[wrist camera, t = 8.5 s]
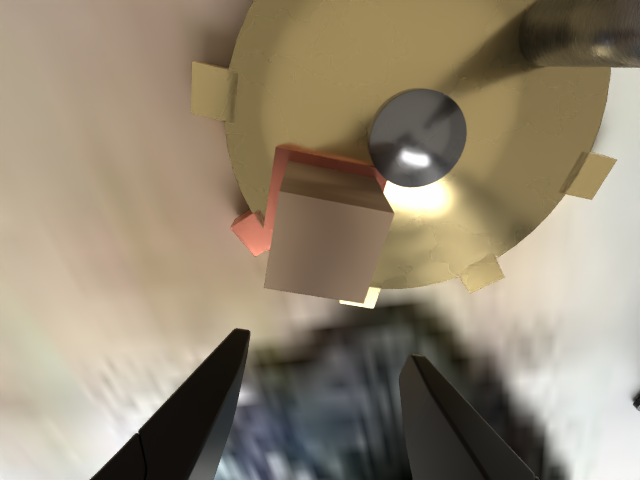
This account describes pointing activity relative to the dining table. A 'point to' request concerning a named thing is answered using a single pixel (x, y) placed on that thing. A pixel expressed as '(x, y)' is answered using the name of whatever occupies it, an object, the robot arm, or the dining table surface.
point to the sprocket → (423, 117)
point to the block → (327, 233)
